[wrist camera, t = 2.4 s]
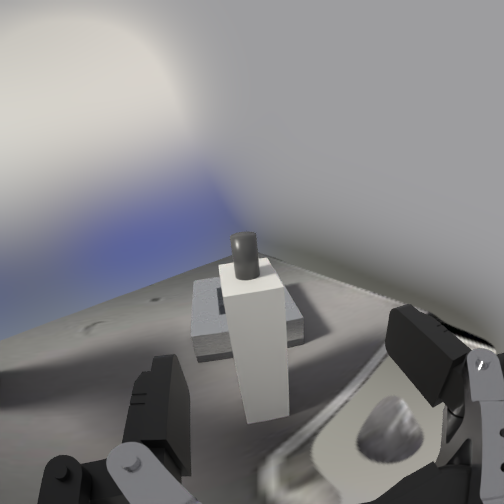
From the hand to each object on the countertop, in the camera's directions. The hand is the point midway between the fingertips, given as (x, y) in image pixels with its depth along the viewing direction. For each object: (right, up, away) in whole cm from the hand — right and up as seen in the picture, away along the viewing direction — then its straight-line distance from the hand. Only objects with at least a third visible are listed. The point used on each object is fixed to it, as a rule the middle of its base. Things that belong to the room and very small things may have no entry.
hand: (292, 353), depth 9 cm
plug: (0, -11, +16) cm, 20 cm away
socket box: (-3, -6, +30) cm, 31 cm away
